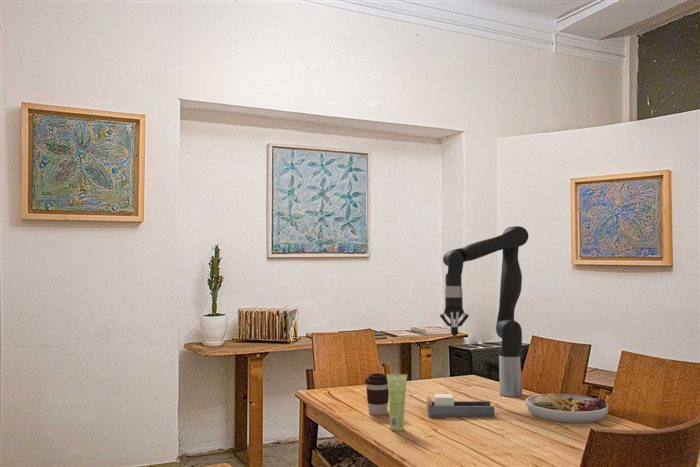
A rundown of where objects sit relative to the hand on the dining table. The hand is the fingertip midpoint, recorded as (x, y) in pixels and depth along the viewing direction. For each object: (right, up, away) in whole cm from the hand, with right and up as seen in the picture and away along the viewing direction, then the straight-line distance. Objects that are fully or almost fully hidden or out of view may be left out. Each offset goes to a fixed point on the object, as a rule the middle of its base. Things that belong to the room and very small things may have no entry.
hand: (454, 335), depth 262 cm
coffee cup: (-35, -27, -26) cm, 51 cm away
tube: (-29, -25, -49) cm, 62 cm away
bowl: (+38, -26, -31) cm, 55 cm away
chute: (-3, -26, -29) cm, 39 cm away
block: (-9, -25, -29) cm, 39 cm away
